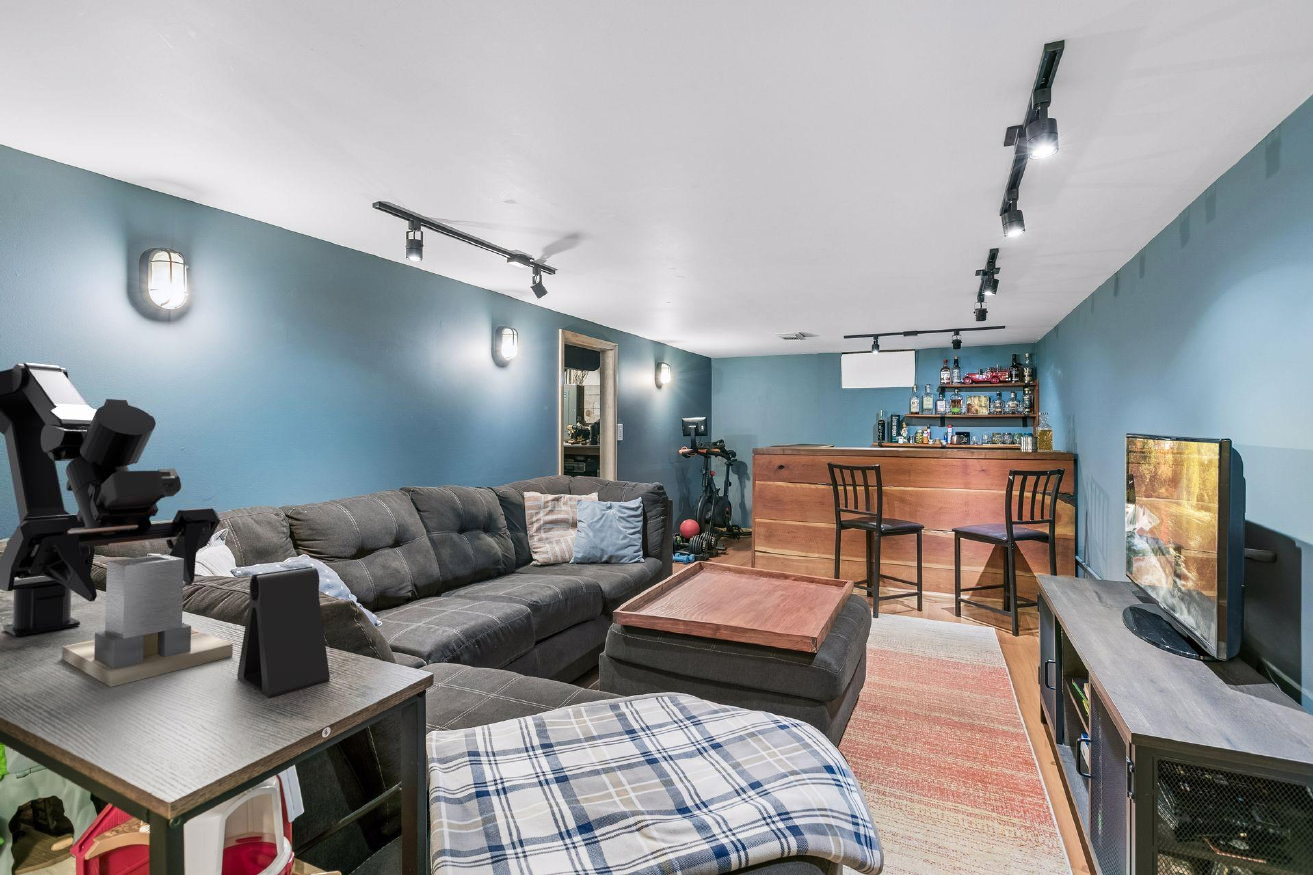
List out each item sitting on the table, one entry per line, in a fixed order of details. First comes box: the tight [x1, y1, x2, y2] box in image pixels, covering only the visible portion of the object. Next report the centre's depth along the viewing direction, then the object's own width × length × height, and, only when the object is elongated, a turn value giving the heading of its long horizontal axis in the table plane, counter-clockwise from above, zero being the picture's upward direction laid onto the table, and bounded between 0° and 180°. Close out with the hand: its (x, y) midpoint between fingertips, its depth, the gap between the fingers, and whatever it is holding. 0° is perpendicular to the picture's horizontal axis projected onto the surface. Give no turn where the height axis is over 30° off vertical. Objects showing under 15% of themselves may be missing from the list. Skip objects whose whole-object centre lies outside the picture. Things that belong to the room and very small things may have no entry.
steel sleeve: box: [104, 554, 184, 639], centre depth 70 cm, size 5×5×8 cm
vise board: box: [61, 622, 234, 688], centre depth 73 cm, size 16×12×8 cm
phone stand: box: [236, 566, 331, 699], centre depth 67 cm, size 9×6×12 cm, turn 52°
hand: (145, 590), depth 70 cm, fingers open, 9 cm apart
